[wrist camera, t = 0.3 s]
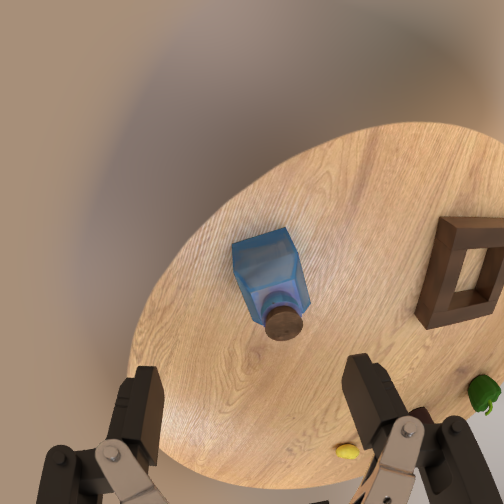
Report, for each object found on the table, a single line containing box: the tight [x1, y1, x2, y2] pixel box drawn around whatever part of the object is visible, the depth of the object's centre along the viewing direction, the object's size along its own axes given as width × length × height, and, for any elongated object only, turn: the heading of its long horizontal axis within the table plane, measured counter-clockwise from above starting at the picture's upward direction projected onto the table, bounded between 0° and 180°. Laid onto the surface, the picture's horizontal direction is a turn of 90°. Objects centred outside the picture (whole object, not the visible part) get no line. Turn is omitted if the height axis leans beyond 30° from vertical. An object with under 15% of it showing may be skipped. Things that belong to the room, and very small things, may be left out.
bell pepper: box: [468, 375, 501, 415], centre depth 51 cm, size 8×8×10 cm
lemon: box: [336, 444, 360, 459], centre depth 58 cm, size 4×8×4 cm, turn 48°
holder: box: [415, 217, 504, 330], centre depth 37 cm, size 16×16×4 cm
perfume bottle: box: [232, 227, 311, 341], centre depth 30 cm, size 6×6×12 cm
